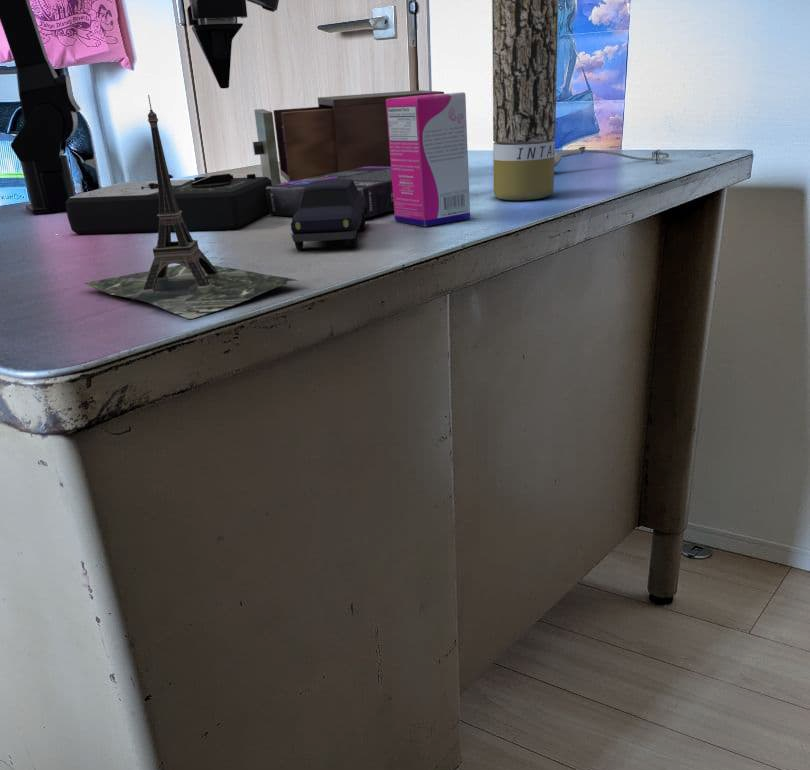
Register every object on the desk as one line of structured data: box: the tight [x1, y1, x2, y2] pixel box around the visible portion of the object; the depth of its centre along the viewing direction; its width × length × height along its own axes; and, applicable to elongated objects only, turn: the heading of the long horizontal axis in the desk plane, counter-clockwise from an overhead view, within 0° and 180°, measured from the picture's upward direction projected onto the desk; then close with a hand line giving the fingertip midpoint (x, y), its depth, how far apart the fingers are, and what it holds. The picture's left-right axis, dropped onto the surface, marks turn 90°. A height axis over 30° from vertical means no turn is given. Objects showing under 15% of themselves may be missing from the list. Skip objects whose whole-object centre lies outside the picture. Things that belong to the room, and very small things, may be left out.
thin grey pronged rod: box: [554, 146, 670, 168], centre depth 119 cm, size 5×3×20 cm
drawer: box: [252, 106, 338, 185], centre depth 116 cm, size 15×11×9 cm
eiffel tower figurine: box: [84, 94, 299, 320], centre depth 63 cm, size 15×10×13 cm
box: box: [266, 166, 394, 219], centre depth 100 cm, size 14×4×20 cm
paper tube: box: [491, 0, 559, 202], centre depth 93 cm, size 7×7×25 cm
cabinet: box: [317, 89, 445, 172], centre depth 118 cm, size 15×13×11 cm
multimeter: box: [65, 173, 272, 235], centre depth 96 cm, size 13×19×5 cm
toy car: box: [290, 179, 367, 251], centre depth 81 cm, size 6×15×5 cm, turn 178°
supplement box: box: [386, 91, 471, 228], centre depth 86 cm, size 6×6×12 cm
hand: (224, 88), depth 111 cm, fingers closed
